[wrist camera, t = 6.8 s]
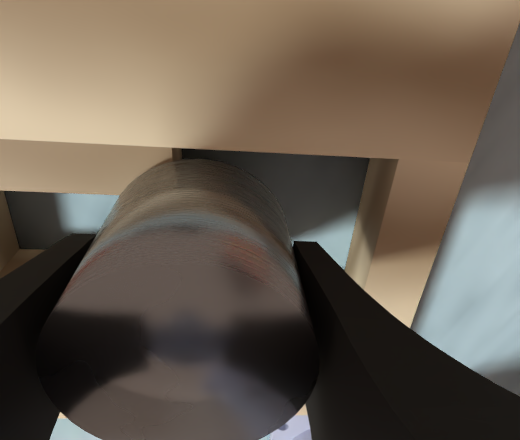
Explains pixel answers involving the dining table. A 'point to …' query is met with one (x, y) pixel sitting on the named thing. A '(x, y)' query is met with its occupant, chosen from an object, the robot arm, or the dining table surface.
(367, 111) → the keyhole plate
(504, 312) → the dining table surface
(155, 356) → the keyhole peg
